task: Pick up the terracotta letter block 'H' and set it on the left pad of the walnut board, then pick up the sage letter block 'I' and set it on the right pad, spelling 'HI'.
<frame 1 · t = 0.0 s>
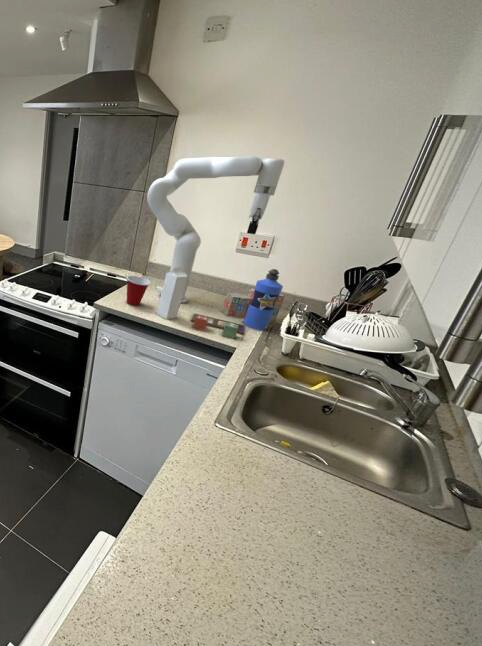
hand: (251, 232, 168), 37 cm above the worktop, tool pointing down, fingers open, 9 cm apart
letter I: (228, 335, 156), on the worktop
milk: (166, 316, 171), on the worktop
stack of blocks: (247, 316, 179), on the worktop
plastic cup: (133, 304, 182), on the worktop
word board: (217, 324, 167), on the worktop
water bottle: (254, 326, 169), on the worktop
letter H: (199, 327, 161), on the worktop
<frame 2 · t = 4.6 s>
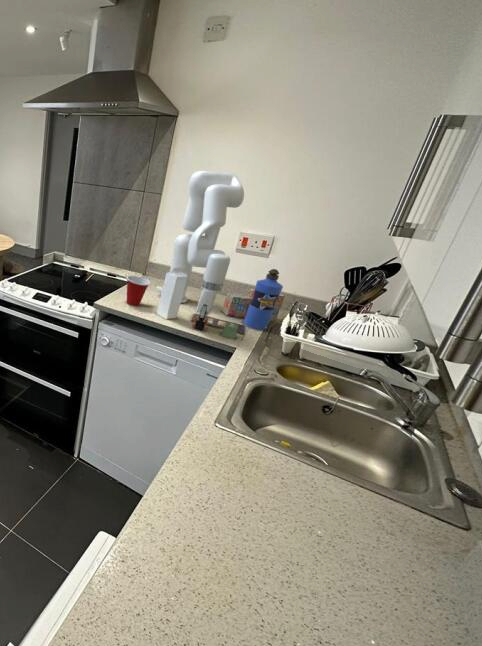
hand: (199, 326, 161), 0 cm above the worktop, tool pointing down, fingers closed on letter H, 4 cm apart
letter H: (199, 327, 161), on the worktop, touching gripper
everything else where it was.
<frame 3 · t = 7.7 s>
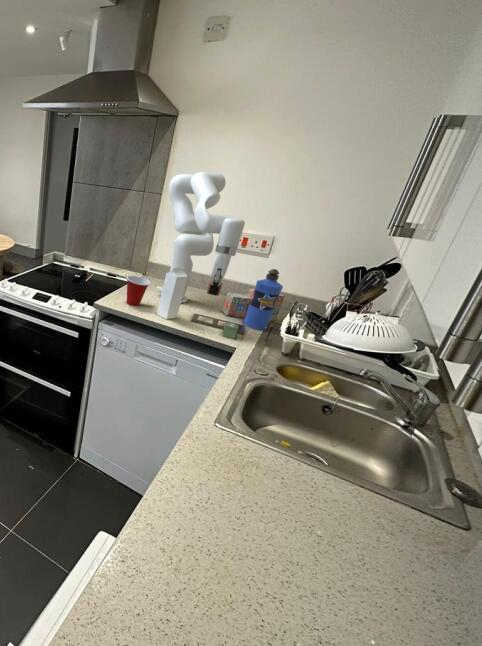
hand: (213, 292, 163), 13 cm above the worktop, tool pointing down, fingers closed on letter H, 4 cm apart
letter H: (213, 293, 163), point 13 cm above the worktop, touching gripper
everything else where it was.
when the fingers open (1 cm above the worktop, at t = 10.8 s): letter H stays where it is, resting on word board.
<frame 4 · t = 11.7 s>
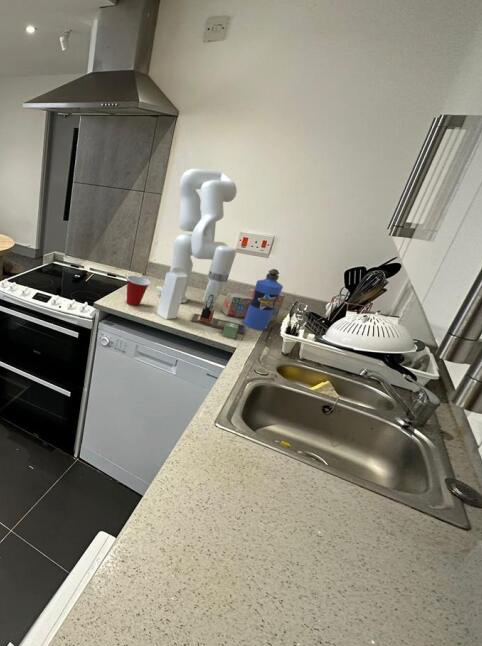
hand: (206, 314, 168), 3 cm above the worktop, tool pointing down, fingers open, 9 cm apart
letter H: (205, 319, 168), point 1 cm above the worktop, touching word board
everything else where it was.
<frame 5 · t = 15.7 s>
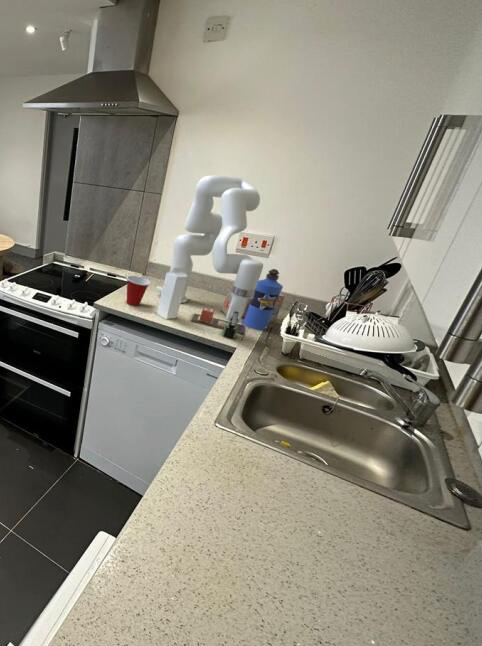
hand: (228, 334, 156), 0 cm above the worktop, tool pointing down, fingers closed on letter I, 4 cm apart
letter I: (228, 335, 156), on the worktop, touching gripper
everything else where it was.
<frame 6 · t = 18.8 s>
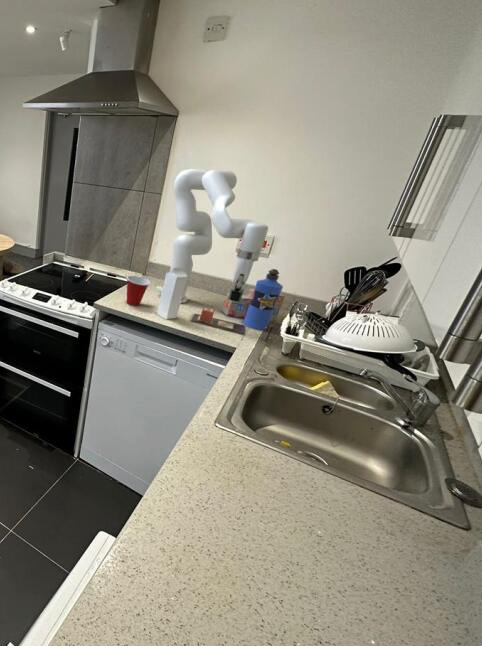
hand: (234, 298, 160), 13 cm above the worktop, tool pointing down, fingers closed on letter I, 4 cm apart
letter I: (234, 299, 160), point 12 cm above the worktop, touching gripper
everything else where it was.
when the fingers open (1 cm above the worktop, at t = 21.8 s): letter I stays where it is, resting on word board.
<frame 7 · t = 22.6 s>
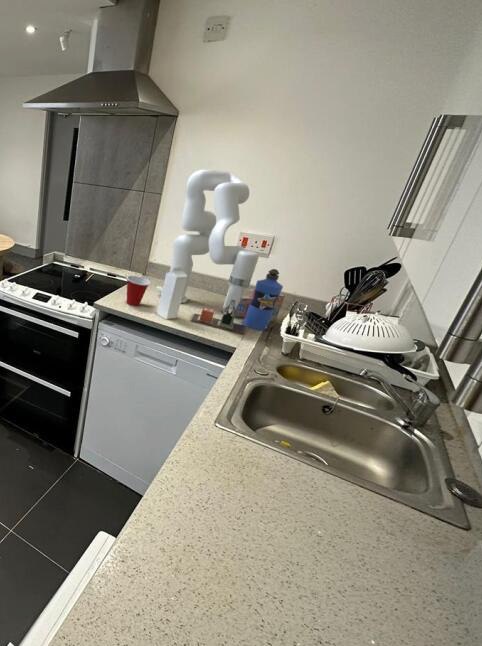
hand: (226, 320, 165), 3 cm above the worktop, tool pointing down, fingers open, 9 cm apart
letter I: (226, 324, 165), point 1 cm above the worktop, touching word board
everything else where it was.
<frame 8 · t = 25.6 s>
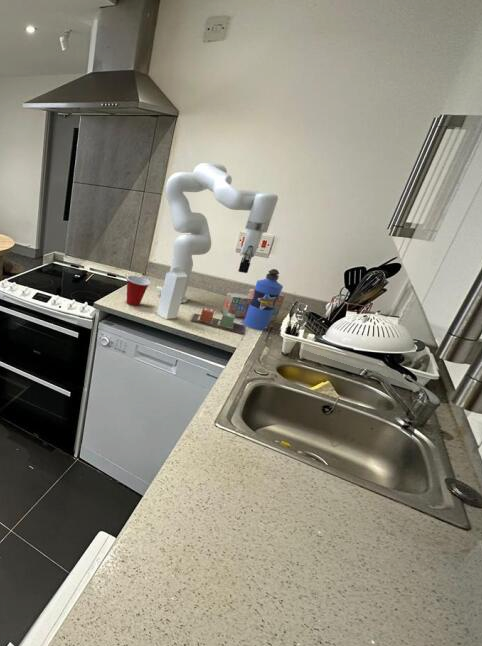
hand: (243, 269, 157), 24 cm above the worktop, tool pointing down, fingers open, 9 cm apart
nothing on the worktop moved.
at the end: letter H 0.3 cm from the target spot on the word board, point 0.7 cm above the word board's base; letter I 0.2 cm from the target spot on the word board, point 0.7 cm above the word board's base; letter I tilted 0° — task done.
